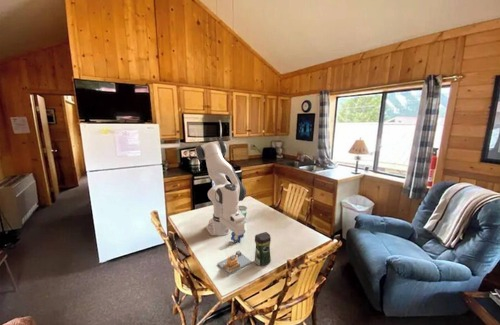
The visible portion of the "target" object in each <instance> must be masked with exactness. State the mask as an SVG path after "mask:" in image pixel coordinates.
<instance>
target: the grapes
mask: <svg viewBox="0 0 500 325" xmlns="http://www.w3.org/2000/svg"><path fill="white" fill-rule="evenodd" d="M230 233H231V234H230V235H231V237H230V240H231V241H233V242H234V243H236V242H240V241H241V239H242V238H244V237H245V233H246V230H245V229H244V233H243V234H242V235H239V236H238V239H237V240H235V239H234V236H235V233H234V232H233V231H231V232H230Z"/></svg>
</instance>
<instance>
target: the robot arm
mask: <svg viewBox="0 0 500 325" xmlns="http://www.w3.org/2000/svg"><path fill="white" fill-rule="evenodd" d="M227 150H228V149H227V145H226V143H225V141H223V140H218V141H217V140H216V141H210V142H208V143H207V142H206V143H203V144H200V145H197V146H196V147H195V150H194V151H195V152H194V154H195V156H196V158H197V159H198V160H200V161H204V160H205V163H206V168H207V173H208V177H209V179H210V180H212V181H213V183H214V185H213V186H212V187H211V188H210V189H209V190H208V191H207V197H208V199H209V200H210V201H211V202H212V205H213V213H212V218H210V219H209V221H208V223H207V224H206V225H205V228H206V230H207V231H208V233H209V234H210V235H211V236H218V237H220V236H221V237H222V236H227V235H228V234H230V233H231V232H234V233H235V236H234V239H235V240H237V239H238V236H239V235H242V234H243V233H244V230H245V216H244V214H243V213H242V212H241V210H240V207H239V202H242V201H244V199H245V198H246V196H247V189H246V188H245V186H244V185H243V183H242V182H241V180H240V178H239V176H238V175H237V172H236V171H235V169H234V167H233V166H232V164H231V163H229V162H228V161H226V160H225V158H224V155H225V154H226V153H227ZM225 175H226V176H227V177H228V178H229V180H230V181H228V179H227V178H226V176H225ZM244 234H245V233H244Z"/></svg>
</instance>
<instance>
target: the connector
mask: <svg viewBox="0 0 500 325" xmlns="http://www.w3.org/2000/svg"><path fill="white" fill-rule="evenodd" d="M234 255H235V254H234ZM234 255H233V254H232V255H230V256H228V257H227V258H228V259H227V258H226V259H227V266H228V267H229V268H231V267H232V266H234V265H236V264H237V258H236V257H235V256H234Z"/></svg>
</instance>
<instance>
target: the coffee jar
mask: <svg viewBox="0 0 500 325" xmlns="http://www.w3.org/2000/svg"><path fill="white" fill-rule="evenodd" d="M271 238H272V237H271V234H270V233H269V232H267V231H265V232H264V231H263V232H260V233H258V234H256V235H255V236H254V243H255V253H254V262H255V264H257V265H258V266H259V267H262V266H266V265H268V264H269V263H271V262H272V259H271V258H272V257H271V248H270V247H271V242H272V239H271Z"/></svg>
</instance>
